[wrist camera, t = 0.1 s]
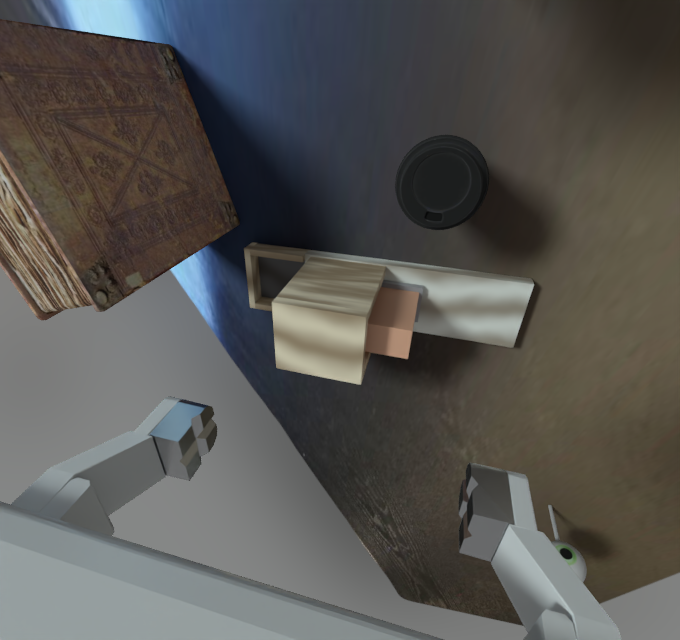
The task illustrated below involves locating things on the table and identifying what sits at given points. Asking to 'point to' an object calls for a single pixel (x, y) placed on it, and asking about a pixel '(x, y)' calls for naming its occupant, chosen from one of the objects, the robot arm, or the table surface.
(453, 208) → the coffee cup
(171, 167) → the book
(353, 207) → the table surface
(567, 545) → the lollipop
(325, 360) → the tunnel track
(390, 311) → the block
